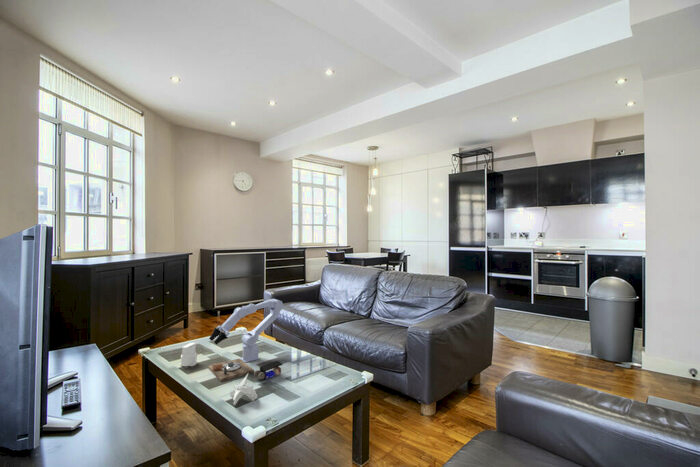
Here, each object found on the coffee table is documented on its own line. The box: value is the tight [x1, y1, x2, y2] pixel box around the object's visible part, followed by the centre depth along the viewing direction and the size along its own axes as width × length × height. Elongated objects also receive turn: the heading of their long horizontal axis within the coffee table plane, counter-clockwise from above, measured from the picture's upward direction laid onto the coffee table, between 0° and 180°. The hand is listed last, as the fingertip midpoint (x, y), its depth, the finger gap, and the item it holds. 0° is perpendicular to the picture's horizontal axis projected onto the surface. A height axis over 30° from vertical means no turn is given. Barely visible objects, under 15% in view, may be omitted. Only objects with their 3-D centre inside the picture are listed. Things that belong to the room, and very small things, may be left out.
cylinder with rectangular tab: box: [180, 342, 198, 367], centre depth 203 cm, size 9×9×12 cm
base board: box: [207, 358, 255, 382], centre depth 194 cm, size 19×23×5 cm
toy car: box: [253, 360, 284, 383], centre depth 183 cm, size 7×8×15 cm
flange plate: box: [212, 362, 240, 372], centre depth 193 cm, size 16×11×3 cm
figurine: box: [229, 374, 259, 406], centre depth 159 cm, size 14×11×13 cm
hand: (212, 341), depth 196 cm, fingers open, 7 cm apart
